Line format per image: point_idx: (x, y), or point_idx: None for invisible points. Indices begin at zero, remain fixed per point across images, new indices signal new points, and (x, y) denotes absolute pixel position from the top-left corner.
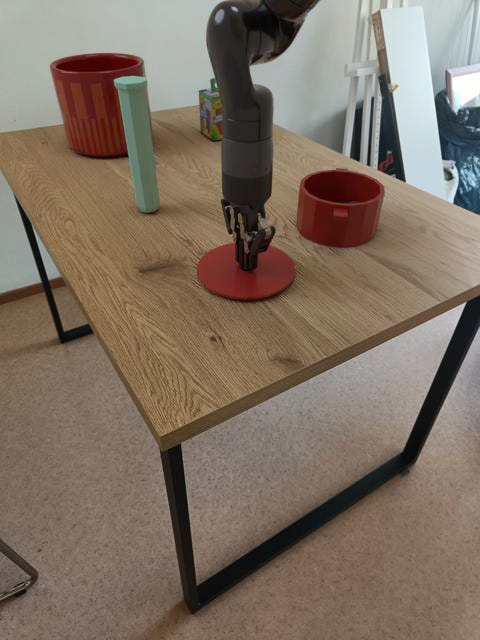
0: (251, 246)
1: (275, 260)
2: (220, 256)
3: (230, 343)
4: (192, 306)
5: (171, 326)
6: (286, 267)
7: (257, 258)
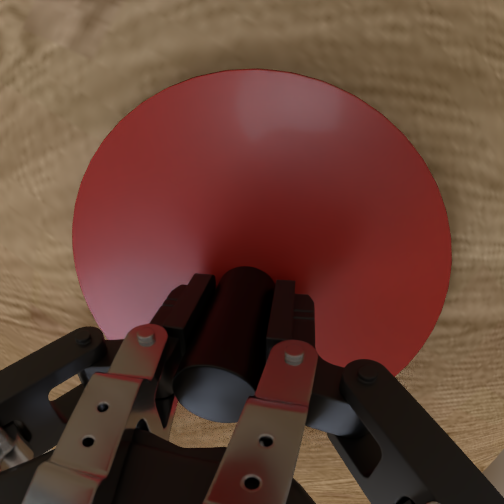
0: (343, 456)
1: (270, 151)
2: (140, 322)
3: (453, 424)
4: (308, 440)
5: (335, 471)
6: (351, 142)
7: (314, 329)
